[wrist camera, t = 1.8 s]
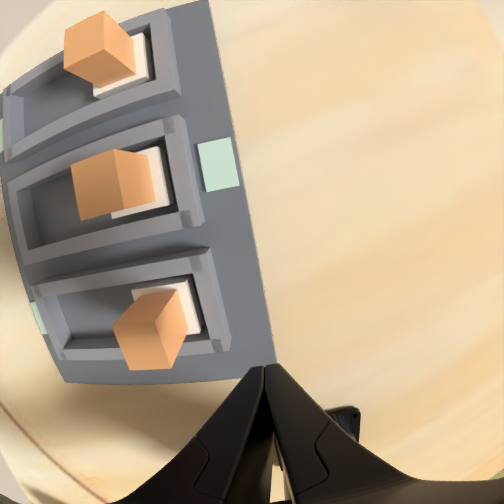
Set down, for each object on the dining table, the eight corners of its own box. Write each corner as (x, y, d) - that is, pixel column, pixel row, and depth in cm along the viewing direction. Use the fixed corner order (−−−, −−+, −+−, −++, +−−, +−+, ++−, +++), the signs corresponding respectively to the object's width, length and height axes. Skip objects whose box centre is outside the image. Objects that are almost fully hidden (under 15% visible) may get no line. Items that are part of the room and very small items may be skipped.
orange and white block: (203, 322, 16) (184, 373, 11) (153, 328, 16) (122, 375, 11) (190, 274, 15) (164, 312, 11) (139, 282, 15) (99, 320, 11)
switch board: (277, 363, 18) (279, 387, 15) (71, 375, 18) (56, 392, 16) (210, 7, 13) (203, -15, 10) (6, 97, 14) (-15, 93, 11)
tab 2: (174, 203, 14) (138, 214, 10) (122, 215, 14) (73, 231, 10) (164, 148, 14) (124, 136, 9) (112, 164, 14) (60, 161, 9)
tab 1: (154, 83, 13) (116, 50, 8) (104, 101, 13) (54, 79, 8) (149, 41, 12) (114, 1, 8) (101, 59, 12) (56, 30, 8)
